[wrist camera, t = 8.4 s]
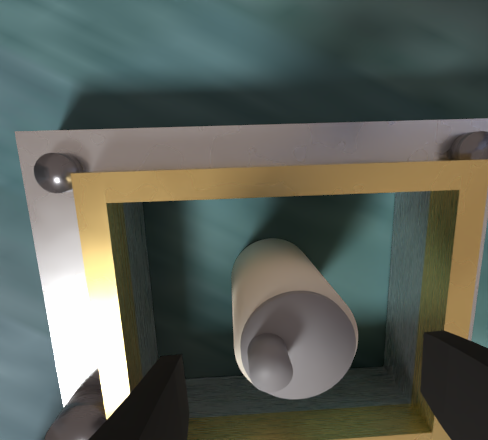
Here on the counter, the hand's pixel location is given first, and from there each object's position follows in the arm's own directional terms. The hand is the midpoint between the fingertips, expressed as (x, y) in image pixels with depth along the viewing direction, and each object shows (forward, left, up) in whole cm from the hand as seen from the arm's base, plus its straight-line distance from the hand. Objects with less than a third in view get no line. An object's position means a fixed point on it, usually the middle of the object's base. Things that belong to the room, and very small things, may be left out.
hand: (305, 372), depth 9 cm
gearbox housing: (0, 0, -6) cm, 6 cm away
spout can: (0, 0, -6) cm, 6 cm away
